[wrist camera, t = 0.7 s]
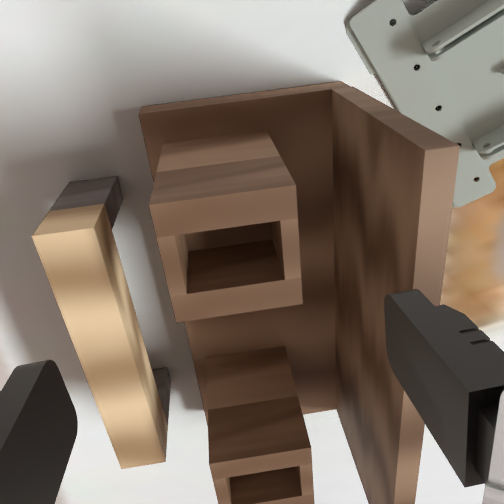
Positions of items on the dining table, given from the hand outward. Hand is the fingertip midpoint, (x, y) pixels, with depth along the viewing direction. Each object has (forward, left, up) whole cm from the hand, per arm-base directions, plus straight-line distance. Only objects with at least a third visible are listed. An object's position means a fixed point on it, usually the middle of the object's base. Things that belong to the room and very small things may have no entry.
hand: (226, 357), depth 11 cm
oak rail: (+11, -8, -20) cm, 24 cm away
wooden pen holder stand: (+11, +2, -20) cm, 23 cm away
